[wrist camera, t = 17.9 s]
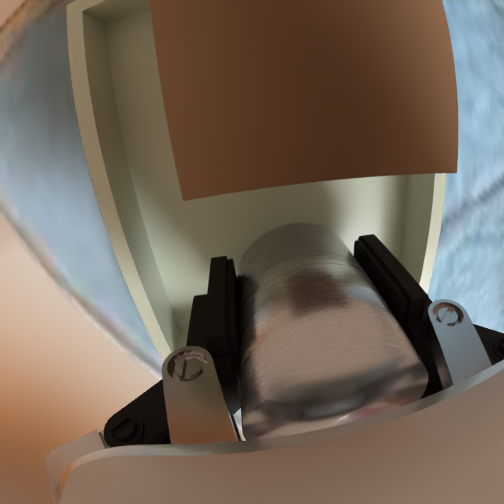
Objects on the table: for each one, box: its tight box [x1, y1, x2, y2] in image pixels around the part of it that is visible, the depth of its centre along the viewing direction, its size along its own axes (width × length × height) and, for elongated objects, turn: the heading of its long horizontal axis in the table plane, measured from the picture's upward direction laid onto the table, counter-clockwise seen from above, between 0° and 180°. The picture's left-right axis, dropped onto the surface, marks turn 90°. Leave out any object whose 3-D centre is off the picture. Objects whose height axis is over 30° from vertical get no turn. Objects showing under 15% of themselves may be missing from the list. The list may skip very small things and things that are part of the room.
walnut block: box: [150, 0, 458, 201], centre depth 6 cm, size 5×5×6 cm
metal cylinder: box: [236, 223, 428, 441], centre depth 8 cm, size 4×4×6 cm
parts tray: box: [66, 0, 446, 363], centre depth 9 cm, size 12×15×3 cm
